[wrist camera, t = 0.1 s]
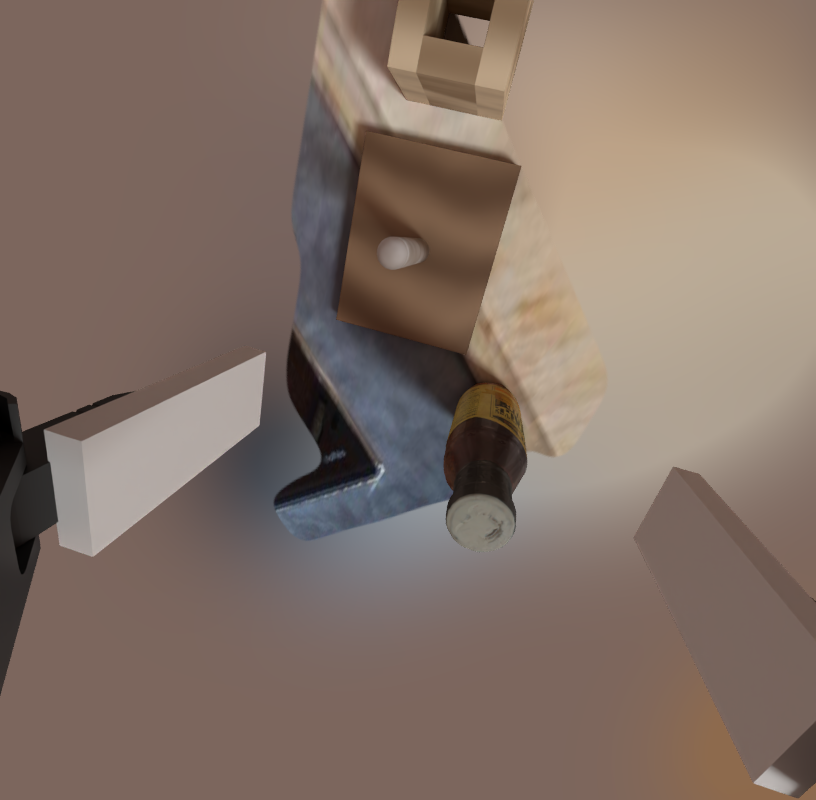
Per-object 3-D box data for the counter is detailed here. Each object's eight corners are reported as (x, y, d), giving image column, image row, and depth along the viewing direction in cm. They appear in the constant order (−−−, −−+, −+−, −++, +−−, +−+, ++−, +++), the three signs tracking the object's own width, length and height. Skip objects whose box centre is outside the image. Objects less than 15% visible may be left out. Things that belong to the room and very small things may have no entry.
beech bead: (430, -26, 31) (414, -97, 24) (535, -6, 30) (547, -74, 24) (406, 100, 34) (387, 66, 28) (501, 120, 33) (504, 91, 27)
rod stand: (371, 135, 35) (306, 76, 23) (520, 169, 34) (537, 127, 22) (341, 317, 41) (278, 348, 29) (467, 351, 40) (456, 399, 28)
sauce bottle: (527, 425, 42) (556, 566, 24) (468, 442, 44) (453, 585, 25) (506, 366, 40) (520, 470, 22) (446, 387, 42) (413, 497, 24)
